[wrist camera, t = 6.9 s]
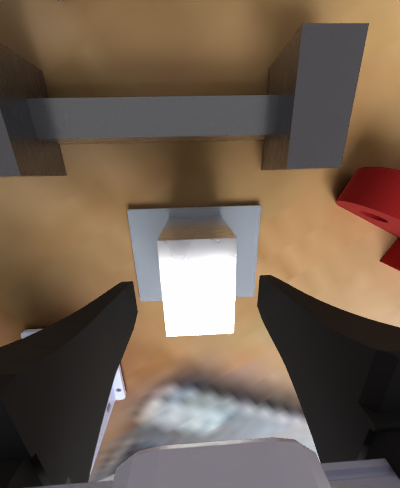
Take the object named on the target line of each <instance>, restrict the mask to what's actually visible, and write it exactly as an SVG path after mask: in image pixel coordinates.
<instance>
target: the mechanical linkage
mask: <svg viewBox="0 0 400 488" xmlns="http://www.w3.org/2000/svg"><path fill="white" fill-rule="evenodd" d="M336 204H337V205H338V206H340V207H342V208H344V209H346V210H348V211H350V212H352V213H353V214H355V215H357V216H359V217H361V218H363V219H365V220H367V221H368V222H370V223H372V224H374V225H376V226H378V227H380V228H382V229H384V230H385V231H387V232H389V233H391V234H393V235H395V236H397V237H399V238H398V239H397V240H396V241H395V243H394V244H393V245H392V246H391V248H390V249H389V250H388V251H387V253H386V254H385V255H384V256H383V258H382V259H381V260H380V261H381V262H383V263H385V264H387V265H389V266H391V267H393V268H395V269H397V270H399V271H400V170H395V169H390V168H382V167H363V168H359V169H357V170H356V172H355V173H354V175H353V176H352V178H351V179H350V181H349V182H348V184H347V185H346V187H345V188H344V190H343V191H342V193H341V194H340V196H339V197H338V199H337V200H336Z"/></svg>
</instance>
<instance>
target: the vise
mask: <svg viewBox="0 0 400 488" xmlns="http://www.w3.org/2000/svg"><path fill="white" fill-rule="evenodd" d="M368 26H369V23H334V24H302V25H301V27H300V28H299V29H298V31H297V32H296V33H295V35H294V36H293V37H292V39H291V40H290V42H289V43H288V44H287V46H286V47H285V48H284V50H283V51H282V52H281V54H280V55H279V56H278V58H277V59H276V60H275V62H274V63H273V64H272V66H271V67H270V68H269V78H268V92H267V95H228V96H159V97H91V98H48V95H47V91H46V87H45V83H44V79H43V74H42V71H41V70H39V69H38V68H36V67H35V66H34V65H32V64H31V63H29V62H28V61H26V60H25V59H23V58H22V57H20V56H19V55H18V54H16V53H15V52H13V51H12V50H10V49H9V48H7V47H6V46H4V45H3V44H2V43H0V177H30V176H66V172H65V167H64V163H63V159H62V155H61V150H60V146H59V144H91V143H137V142H182V141H228V140H264V146H263V160H262V170H291V169H319V168H341V163H342V158H343V153H344V148H345V143H346V138H347V133H348V127H349V122H350V117H351V112H352V107H353V102H354V97H355V92H356V87H357V82H358V77H359V72H360V66H361V61H362V56H363V51H364V46H365V41H366V36H367V31H368Z"/></svg>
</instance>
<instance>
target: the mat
mask: <svg viewBox="0 0 400 488" xmlns="http://www.w3.org/2000/svg"><path fill="white" fill-rule="evenodd" d="M260 211H261V205H236V206H205V207H174V208H143V209H128V210H127V214H128V220H129V227H130V234H131V240H132V247H133V254H134V261H135V267H136V274H137V281H138V288H139V294H140V301H162V300H163V296H162V286H161V276H160V267H159V257H158V248H157V240H158V238H159V236H160V234H161V232H162V230H163V228H164V226H165V224H166V222H167V220H168V218H175V217H204V216H222V217H223V219H224V220H225V222H226V223H227V224H228V226H229V227H230V229H231V230H232V231H233V233H234V234H235V235H236V237H237V257H236V283H235V297H247V296H254V290H255V277H256V264H257V250H258V237H259V224H260Z"/></svg>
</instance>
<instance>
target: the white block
mask: <svg viewBox="0 0 400 488" xmlns="http://www.w3.org/2000/svg"><path fill="white" fill-rule="evenodd" d="M157 248H158V257H159V267H160V276H161V286H162V296H163V305H164V315H165V324H166V334H167V336H185V335H204V334H223V333H234V309H235V283H236V257H237V237H236V235H235V234H234V233H233V231H232V230H231V229H230V227H229V226H228V224H227V223H226V222H225V220H224V219H223V217H222V216H204V217H175V218H168V220H167V222H166V224H165V226H164V228H163V230H162V232H161V234H160V236H159V238H158V240H157Z"/></svg>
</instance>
